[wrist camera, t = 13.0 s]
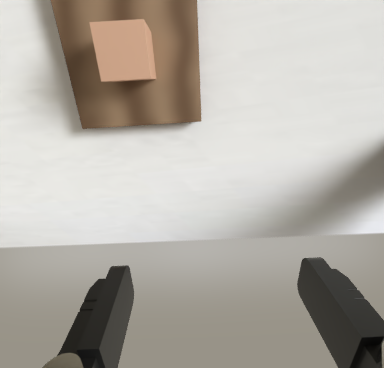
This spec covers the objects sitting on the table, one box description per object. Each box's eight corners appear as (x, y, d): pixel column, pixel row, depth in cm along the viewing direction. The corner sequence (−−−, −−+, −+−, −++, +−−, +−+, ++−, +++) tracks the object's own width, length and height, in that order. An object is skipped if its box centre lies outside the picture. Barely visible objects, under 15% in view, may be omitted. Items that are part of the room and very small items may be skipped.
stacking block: (151, 32, 27) (143, 18, 21) (156, 79, 29) (150, 78, 23) (108, 34, 26) (89, 22, 21) (116, 81, 28) (101, 81, 23)
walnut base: (194, -22, 27) (195, -32, 24) (199, 118, 33) (201, 121, 31) (56, -15, 26) (44, -25, 24) (89, 125, 33) (82, 128, 31)
